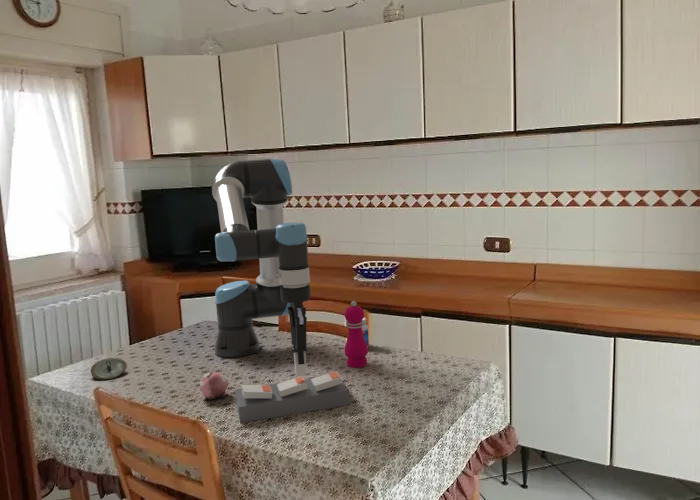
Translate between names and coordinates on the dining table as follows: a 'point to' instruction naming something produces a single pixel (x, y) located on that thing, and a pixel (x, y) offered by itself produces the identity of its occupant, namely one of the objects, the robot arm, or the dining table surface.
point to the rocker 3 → (326, 381)
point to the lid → (108, 368)
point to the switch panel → (291, 402)
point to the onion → (214, 385)
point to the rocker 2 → (292, 386)
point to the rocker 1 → (256, 391)
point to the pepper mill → (355, 337)
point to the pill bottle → (365, 332)
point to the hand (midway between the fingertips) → (301, 374)
